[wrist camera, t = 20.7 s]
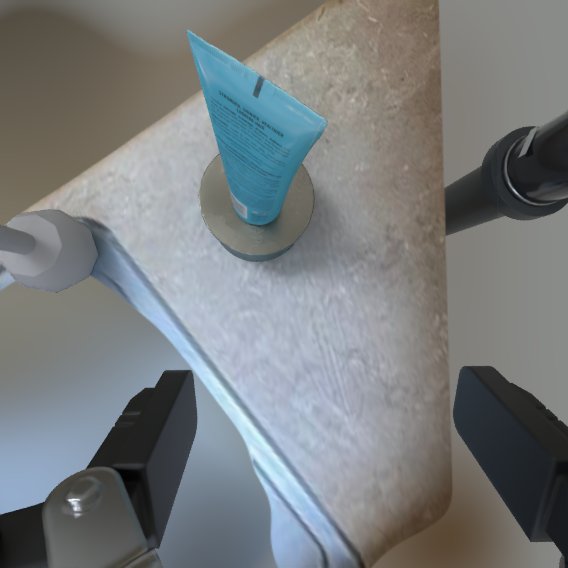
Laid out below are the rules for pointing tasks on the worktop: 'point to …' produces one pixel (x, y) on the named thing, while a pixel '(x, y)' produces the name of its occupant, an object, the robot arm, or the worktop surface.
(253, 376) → the worktop surface
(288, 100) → the tube
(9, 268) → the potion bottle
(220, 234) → the tea tin
